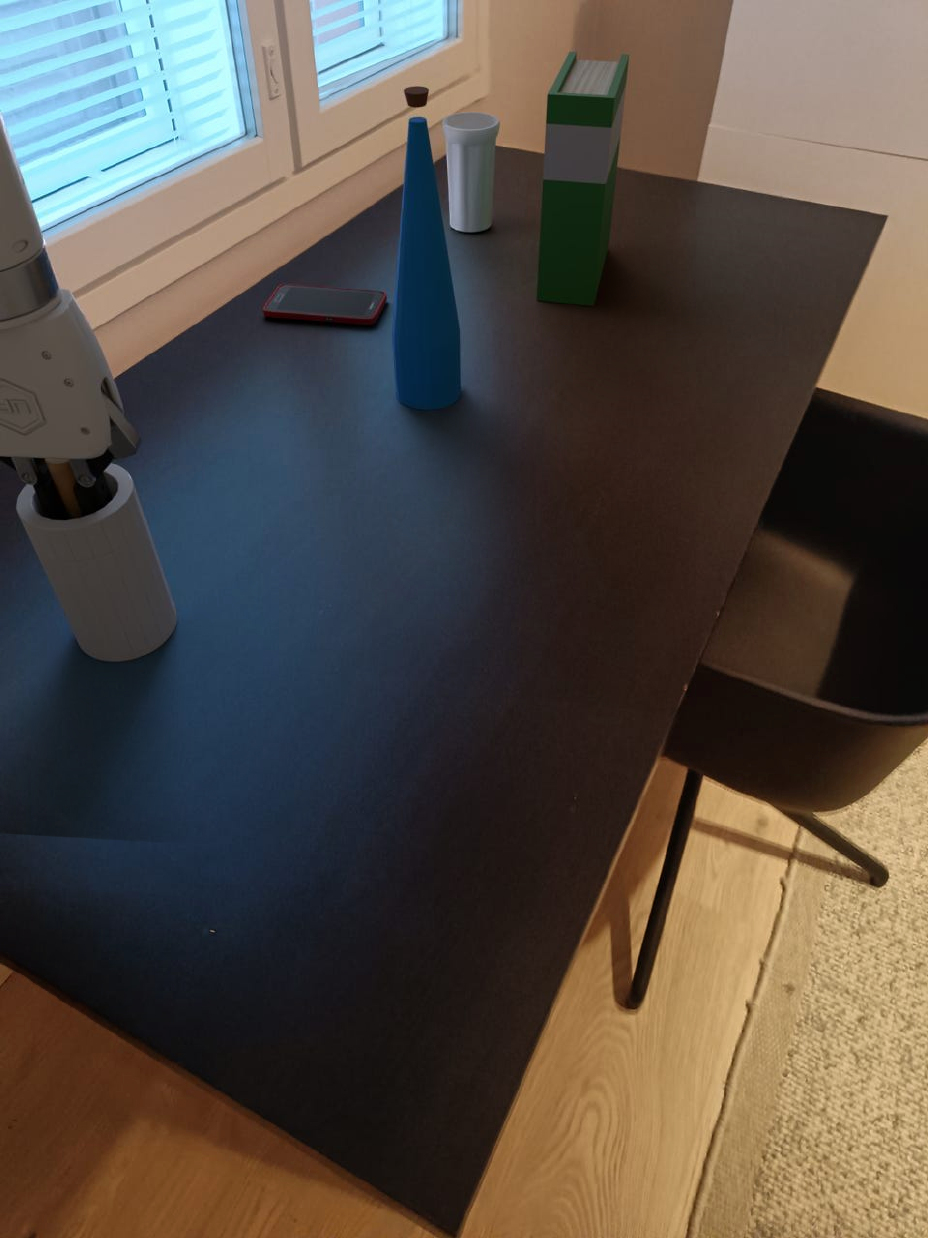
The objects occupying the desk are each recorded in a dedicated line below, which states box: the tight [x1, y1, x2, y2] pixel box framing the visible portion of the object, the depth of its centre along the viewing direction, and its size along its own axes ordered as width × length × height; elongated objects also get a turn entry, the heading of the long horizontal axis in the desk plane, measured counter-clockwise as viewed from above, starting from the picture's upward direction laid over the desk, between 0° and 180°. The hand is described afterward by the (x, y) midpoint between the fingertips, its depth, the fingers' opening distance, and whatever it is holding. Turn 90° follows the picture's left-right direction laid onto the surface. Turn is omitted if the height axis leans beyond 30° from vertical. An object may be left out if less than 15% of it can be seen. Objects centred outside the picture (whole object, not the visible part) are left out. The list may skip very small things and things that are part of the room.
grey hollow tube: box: [15, 462, 178, 663], centre depth 71 cm, size 8×8×14 cm
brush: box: [45, 458, 83, 520], centre depth 69 cm, size 4×4×16 cm
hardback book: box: [536, 51, 630, 307], centre depth 113 cm, size 18×7×24 cm, turn 167°
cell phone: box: [262, 283, 388, 326], centre depth 115 cm, size 8×15×1 cm, turn 80°
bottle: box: [391, 85, 462, 411], centre depth 90 cm, size 7×7×30 cm
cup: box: [440, 111, 501, 233], centre depth 128 cm, size 8×8×14 cm
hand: (83, 516), depth 67 cm, fingers closed on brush, 2 cm apart
